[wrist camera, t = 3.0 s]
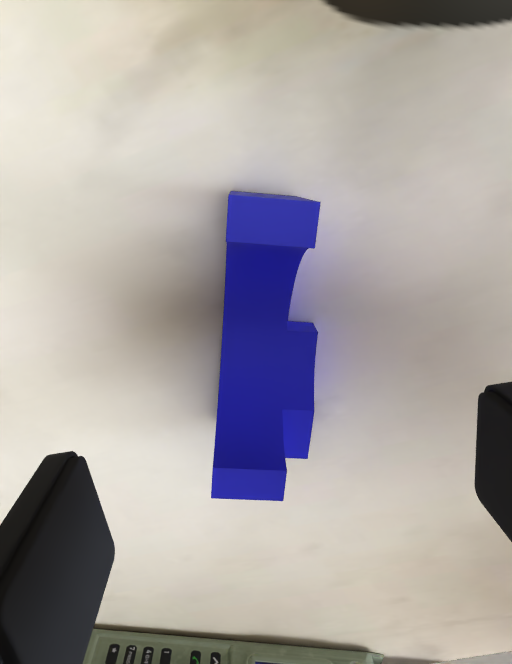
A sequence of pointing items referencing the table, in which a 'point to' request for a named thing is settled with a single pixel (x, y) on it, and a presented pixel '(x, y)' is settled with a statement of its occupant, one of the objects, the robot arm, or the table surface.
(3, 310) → the table surface
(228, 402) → the blue semicircular clamp bracket
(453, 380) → the table surface
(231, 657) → the handheld radio
